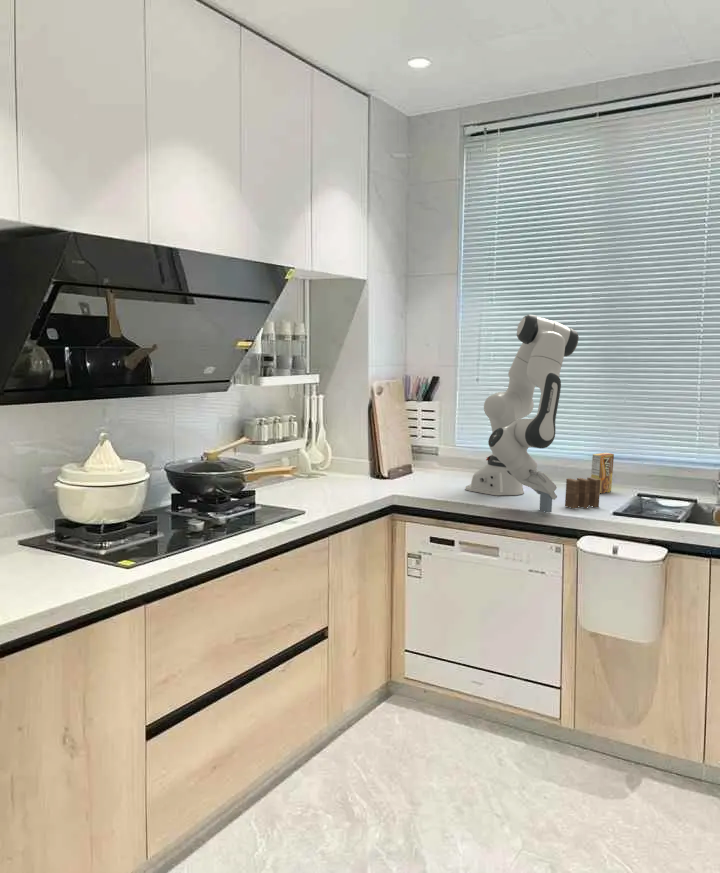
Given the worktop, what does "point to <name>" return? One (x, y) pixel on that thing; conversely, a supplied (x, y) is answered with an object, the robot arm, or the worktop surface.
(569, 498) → the tile
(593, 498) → the brown wooden block
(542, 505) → the loose tile
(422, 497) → the worktop surface
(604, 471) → the candy box
